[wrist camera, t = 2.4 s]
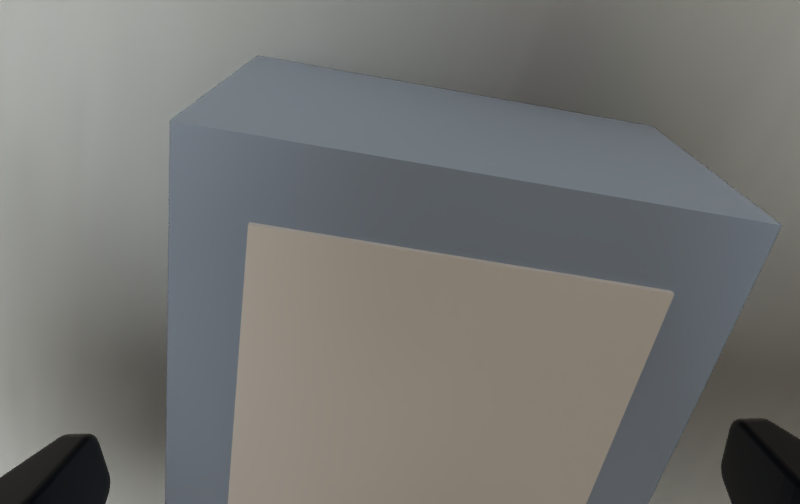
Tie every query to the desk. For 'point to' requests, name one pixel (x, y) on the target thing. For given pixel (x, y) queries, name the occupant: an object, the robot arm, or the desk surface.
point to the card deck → (436, 295)
